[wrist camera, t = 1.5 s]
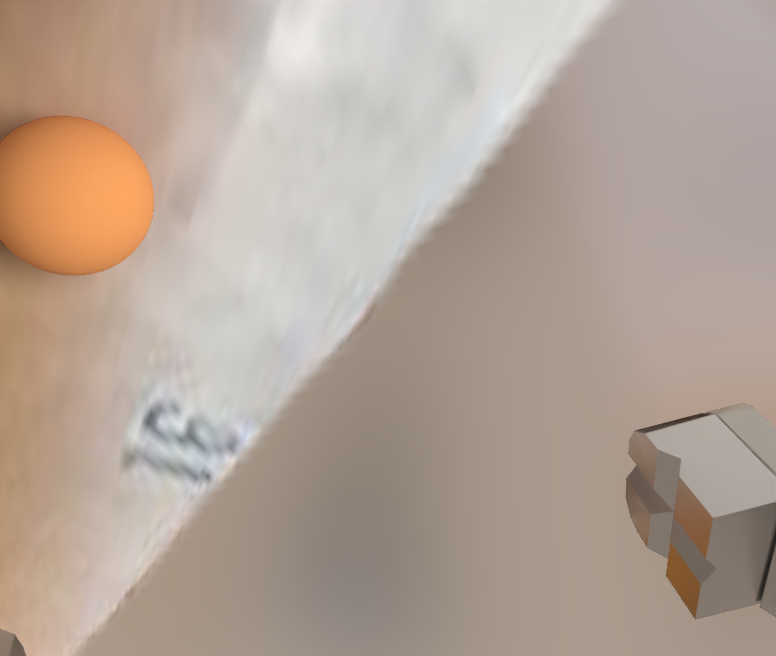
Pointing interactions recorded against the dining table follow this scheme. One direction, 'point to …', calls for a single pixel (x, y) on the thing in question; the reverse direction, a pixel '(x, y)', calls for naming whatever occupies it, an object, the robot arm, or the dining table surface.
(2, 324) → the dining table surface
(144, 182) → the ball
